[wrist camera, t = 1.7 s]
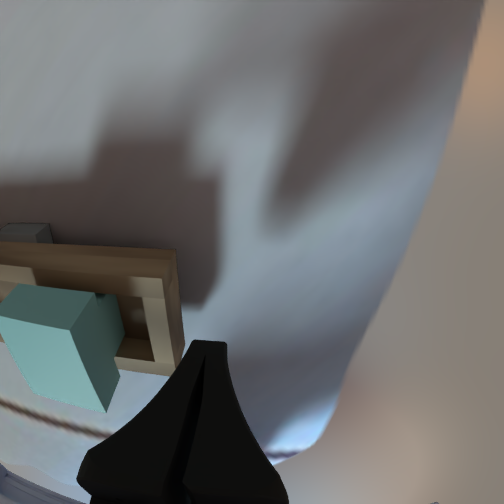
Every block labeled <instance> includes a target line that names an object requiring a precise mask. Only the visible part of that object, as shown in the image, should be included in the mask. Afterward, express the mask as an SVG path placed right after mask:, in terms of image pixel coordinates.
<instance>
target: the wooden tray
mask: <svg viewBox="0 0 504 504" xmlns="http://www.w3.org/2000/svg"><path fill="white" fill-rule="evenodd" d="M19 283H21V284H28V285H35V286H43V287H51V288H59V289H67V290H76V291H85V292H94V293H103V294H113V295H116V297H117V302H118V306H119V310H120V315H121V319H122V323H123V327H124V330H125V335H124V337H123V340H122V342H121V344H120V346H119V348H118V350H117V353H116V355H115V357H114V360H115V363H116V366H117V369H122V370H128V371H134V372H141V373H148V374H156V375H164V376H171V375H172V374H173V372H174V371H175V369H176V368H177V366H178V365H179V363H180V362H181V359H182V355H183V351H184V347H185V339H184V330H183V322H182V313H181V303H180V294H179V283H178V272H177V260H176V250H174V249H153V248H131V247H110V246H89V245H68V244H53V240H52V236H51V231H50V226H49V224H39V223H9V224H7V225H6V226H4V227H3V228H2V229H0V303H1V302H2V301H3V300H4V299H5V298H6V297H7V296H8V294H9V293H10V292H11V291H12V290H13V289H14V288H15V287H16V286H17V285H18V284H19ZM0 342H4V340H3V338H2V336H1V333H0ZM4 343H5V342H4Z"/></svg>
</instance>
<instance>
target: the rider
mask: <svg viewBox="0 0 504 504" xmlns="http://www.w3.org/2000/svg"><path fill="white" fill-rule="evenodd" d="M0 333H1V336H2V338H3V340H4V342H5V344H6V345H7V347H8V349H9V351H10V353H11V355H12V357H13V359H14V361H15V362H16V364H17V366H18V368H19V369H20V371H21V373H22V375H23V376H24V378H25V380H26V381H27V383H28V385H29V386H30V388H31V390H32V391H33V393H35V394H38V395H41V396H44V397H47V398H50V399H53V400H57V401H60V402H64V403H67V404H71V405H75V406H78V407H82V408H86V409H90V410H94V411H98V412H103V413H106V412H107V410H108V407H109V404H110V402H111V399H112V396H113V394H114V391H115V389H116V386H117V384H118V381H119V378H120V374H119V371H118V369H117V366H116V363H115V360H114V357H115V355H116V353H117V350H118V348H119V346H120V344H121V342H122V340H123V337H124V335H125V330H124V327H123V323H122V319H121V315H120V310H119V306H118V302H117V297H116V295H113V294H103V293H94V292H85V291H76V290H67V289H59V288H51V287H43V286H35V285H28V284H21V283H19V284H18V285H17V286H16V287H15V288H14V289H13V290H12V291H11V292H10V293H9V294H8V296H7V297H6V298H5V299H4V300H3V301H2V302H1V303H0Z"/></svg>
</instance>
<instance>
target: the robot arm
mask: <svg viewBox="0 0 504 504" xmlns="http://www.w3.org/2000/svg"><path fill="white" fill-rule="evenodd" d="M76 479H77V482H78V484H79V485H80V486H81V487H83V489H84V490H86V491H87V492H88V493H89V494H90V495H91V500H90V504H289V500H288V495H287V492H286V489H285V487H284V484H283V482H282V480H281V478H280V475H279V474H278V472H277V471H276V470H275V468H274V467H273V466H272V464H271V463H270V461H269V460H268V459H267V457H266V456H265V454H264V452H263V451H262V449H261V448H260V446H259V444H258V443H257V441H256V439H255V437H254V435H253V434H252V432H251V430H250V428H249V426H248V424H247V422H246V420H245V417H244V415H243V413H242V411H241V408H240V406H239V403H238V400H237V397H236V394H235V391H234V388H233V385H232V381H231V377H230V373H229V368H228V362H227V344H226V343H225V342H220V341H206V340H193V341H192V342H191V344H190V346H189V348H188V350H187V352H186V354H185V355H184V357H183V358H182V360H181V362H180V363H179V365H178V366H177V368H176V369H175V371H174V372H173V374H172V375H171V376H170V378H169V379H168V381H167V382H166V383H165V384H164V386H163V387H162V388H161V389H160V391H159V392H158V393H157V394H156V395H155V397H154V398H153V399H152V400H151V401H150V402H149V403H148V404H147V405H146V406H145V407H144V408H143V409H142V410H141V411H140V412H139V413H138V414H137V415H136V416H135V417H134V418H133V419H132V420H131V421H129V422H128V423H127V424H126V425H125V426H123V427H122V428H121V429H119V430H118V431H117V432H115V433H114V434H113V435H111V436H110V437H109V438H107V439H106V440H104V441H102V442H101V443H99V444H98V445H96V446H94V447H93V448H91V449H89V450H88V451H87V453H86V455H85V457H84V459H83V461H82V463H81V466H80V469H79V472H78V475H77V478H76ZM0 504H85V503H82V502H80V501H77V500H74V499H71V498H68V497H66V496H63V495H60V494H58V493H56V492H53V491H51V490H48V489H46V488H44V487H41V486H39V485H37V484H35V483H32V482H30V481H28V480H26V479H24V478H22V477H20V476H18V475H16V474H14V473H12V472H10V471H8V470H7V469H6V468H5V467H4V466H3V465H1V463H0ZM431 504H439V503H438V502H434V503H431Z"/></svg>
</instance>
